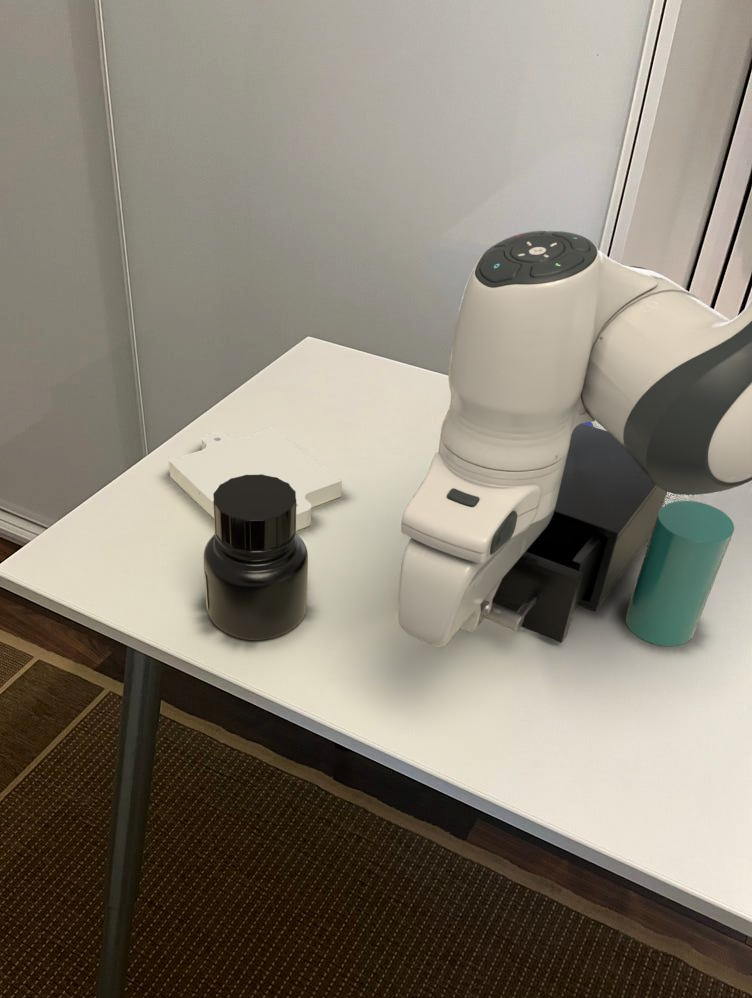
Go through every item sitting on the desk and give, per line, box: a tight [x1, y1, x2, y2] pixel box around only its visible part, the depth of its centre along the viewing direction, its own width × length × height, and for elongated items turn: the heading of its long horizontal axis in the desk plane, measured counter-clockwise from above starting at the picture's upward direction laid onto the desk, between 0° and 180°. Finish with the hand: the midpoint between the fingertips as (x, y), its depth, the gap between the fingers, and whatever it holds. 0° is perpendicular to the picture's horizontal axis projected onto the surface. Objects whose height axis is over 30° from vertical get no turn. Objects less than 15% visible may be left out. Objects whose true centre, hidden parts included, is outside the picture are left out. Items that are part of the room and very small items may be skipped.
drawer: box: [484, 518, 607, 644], centre depth 86 cm, size 19×12×7 cm, turn 145°
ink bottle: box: [203, 474, 309, 641], centre depth 83 cm, size 10×9×12 cm
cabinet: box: [552, 423, 668, 613], centre depth 91 cm, size 16×14×9 cm
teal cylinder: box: [625, 500, 735, 647], centre depth 82 cm, size 6×6×11 cm
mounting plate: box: [168, 426, 343, 532], centre depth 101 cm, size 18×13×2 cm
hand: (472, 620), depth 79 cm, fingers closed
